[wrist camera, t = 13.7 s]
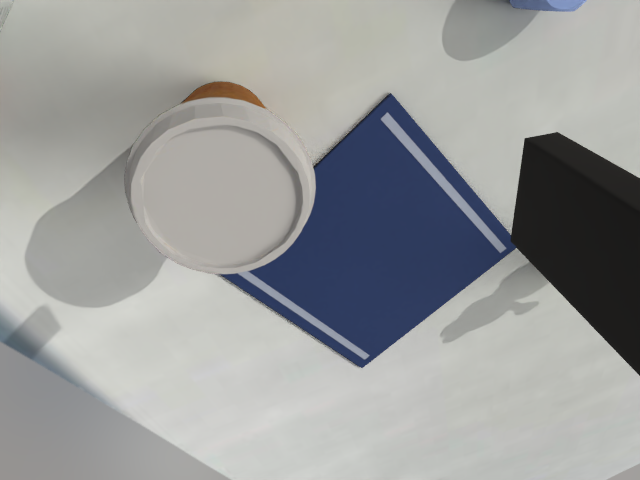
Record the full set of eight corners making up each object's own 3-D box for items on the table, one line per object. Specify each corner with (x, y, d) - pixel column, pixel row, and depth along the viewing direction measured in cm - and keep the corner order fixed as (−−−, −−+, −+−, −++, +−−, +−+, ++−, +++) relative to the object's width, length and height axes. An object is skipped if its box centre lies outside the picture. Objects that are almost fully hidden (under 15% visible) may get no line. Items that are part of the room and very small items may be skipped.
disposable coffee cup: (195, 24, 28) (178, 60, 18) (316, 107, 32) (357, 173, 22) (130, 147, 32) (85, 234, 22) (248, 208, 36) (256, 305, 26)
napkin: (211, 266, 38) (211, 269, 38) (390, 93, 33) (391, 94, 33) (361, 366, 48) (361, 368, 47) (517, 243, 43) (519, 245, 42)
